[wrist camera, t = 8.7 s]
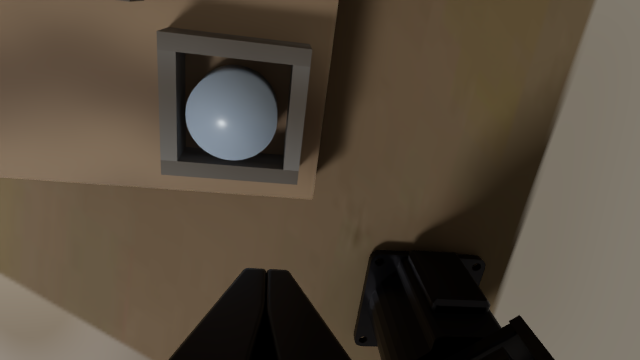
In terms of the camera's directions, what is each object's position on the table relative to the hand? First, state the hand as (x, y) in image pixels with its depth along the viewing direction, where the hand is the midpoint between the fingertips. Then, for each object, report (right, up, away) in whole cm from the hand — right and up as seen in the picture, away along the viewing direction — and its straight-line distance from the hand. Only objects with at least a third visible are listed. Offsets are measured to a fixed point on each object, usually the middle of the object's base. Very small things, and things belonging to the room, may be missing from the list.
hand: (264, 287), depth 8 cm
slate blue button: (-2, +5, +8) cm, 10 cm away
